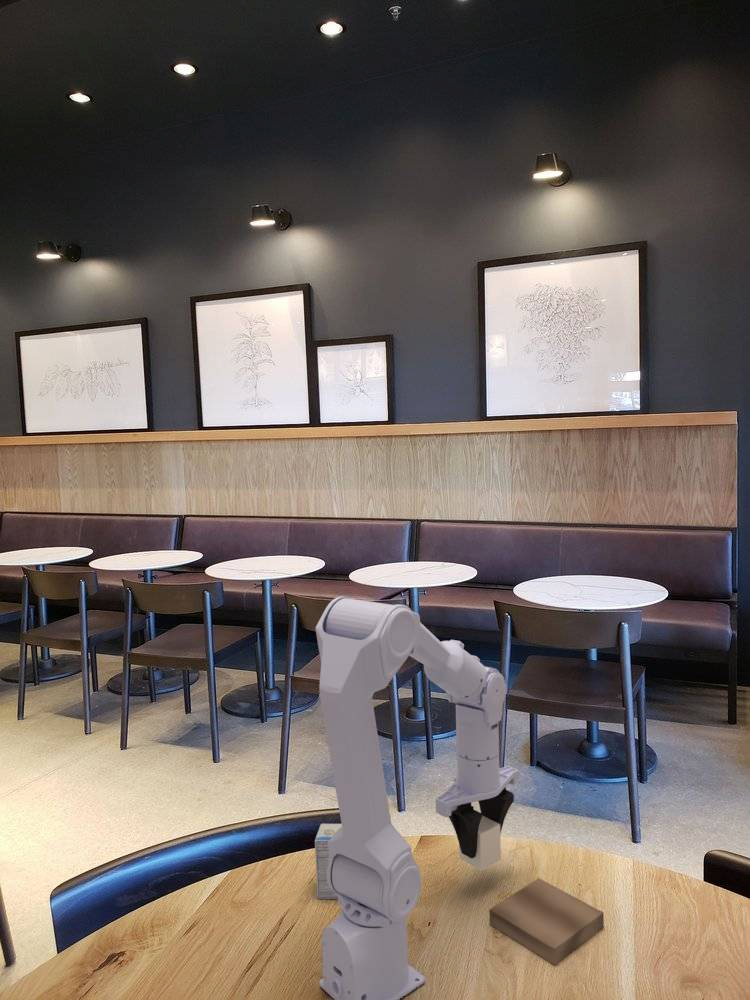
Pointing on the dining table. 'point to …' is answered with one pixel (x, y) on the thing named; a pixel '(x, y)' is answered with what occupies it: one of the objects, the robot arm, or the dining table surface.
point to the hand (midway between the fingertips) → (479, 848)
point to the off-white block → (485, 845)
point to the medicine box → (324, 860)
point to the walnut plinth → (546, 920)
